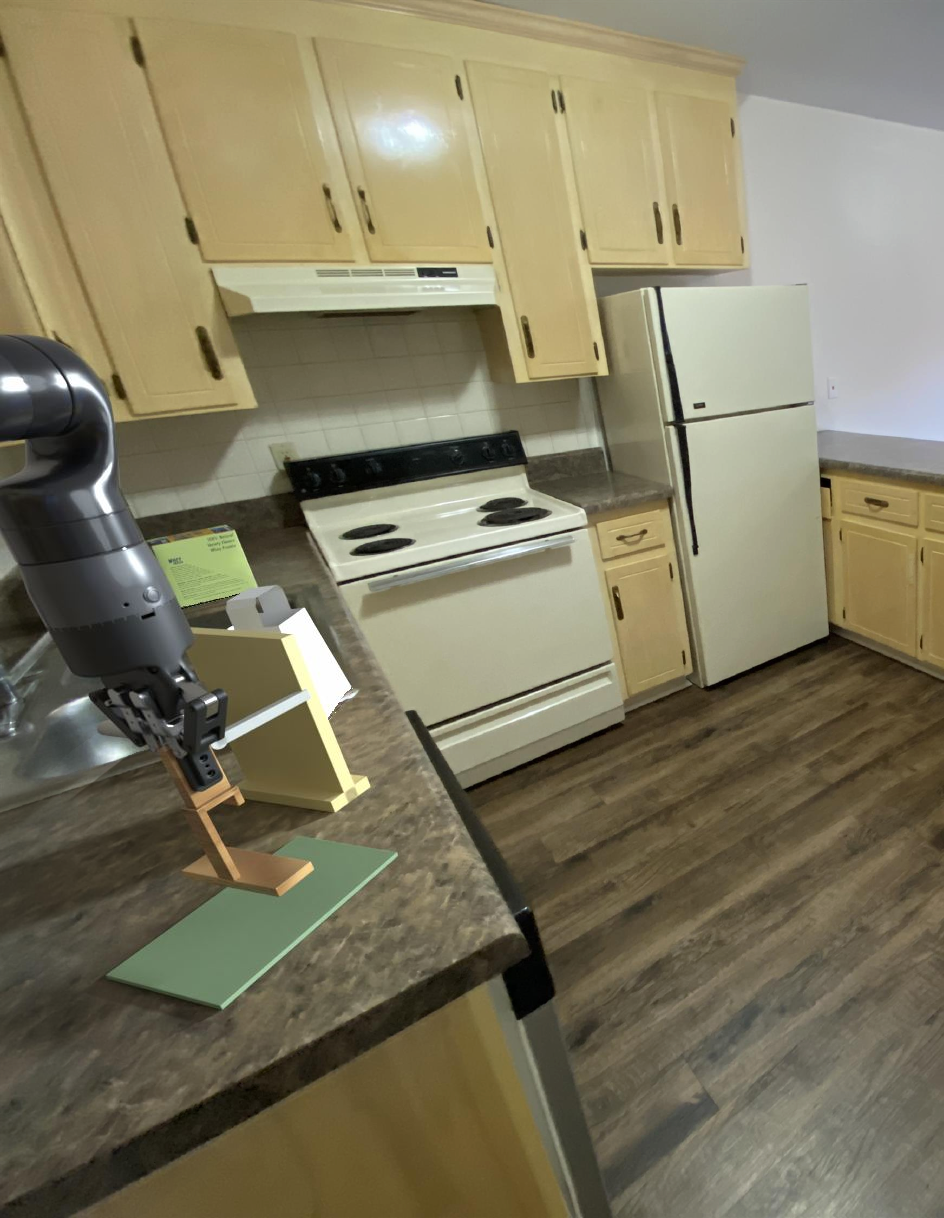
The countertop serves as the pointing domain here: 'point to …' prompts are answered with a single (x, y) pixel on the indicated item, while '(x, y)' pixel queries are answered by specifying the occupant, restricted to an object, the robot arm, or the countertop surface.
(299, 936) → the mat
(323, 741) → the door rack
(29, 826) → the countertop surface
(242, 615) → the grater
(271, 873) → the phone stand
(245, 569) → the protein box
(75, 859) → the countertop surface
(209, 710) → the robot arm
